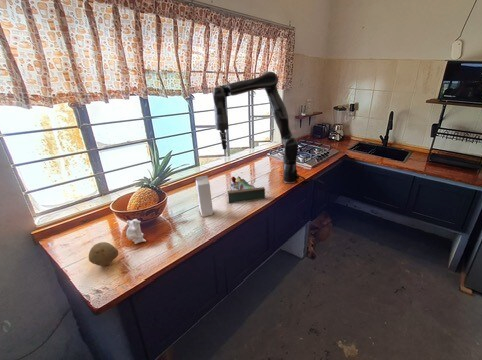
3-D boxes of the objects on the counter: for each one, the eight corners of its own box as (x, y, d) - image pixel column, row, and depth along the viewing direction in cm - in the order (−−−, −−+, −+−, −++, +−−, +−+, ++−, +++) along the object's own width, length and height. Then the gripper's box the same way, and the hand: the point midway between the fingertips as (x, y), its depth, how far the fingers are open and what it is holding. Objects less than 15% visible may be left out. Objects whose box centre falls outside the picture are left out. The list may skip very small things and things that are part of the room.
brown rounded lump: (86, 268, 96) (78, 248, 92) (109, 254, 104) (102, 234, 100) (102, 274, 93) (94, 253, 89) (124, 259, 101) (118, 239, 97)
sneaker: (253, 198, 153) (252, 184, 149) (228, 190, 163) (226, 177, 159) (260, 193, 159) (260, 179, 155) (235, 186, 169) (234, 173, 165)
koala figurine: (151, 239, 114) (145, 217, 109) (137, 247, 108) (131, 224, 103) (139, 234, 117) (133, 212, 112) (125, 242, 111) (118, 219, 107)
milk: (213, 214, 135) (209, 177, 126) (202, 217, 132) (196, 179, 123) (210, 209, 140) (206, 173, 131) (199, 212, 137) (194, 175, 128)
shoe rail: (264, 196, 155) (263, 187, 152) (265, 198, 153) (264, 188, 150) (228, 201, 149) (227, 191, 146) (229, 203, 147) (228, 193, 144)
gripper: (228, 123, 144) (231, 150, 150) (226, 119, 156) (229, 144, 163) (215, 123, 142) (218, 151, 148) (214, 120, 154) (217, 145, 161)
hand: (224, 147), depth 155 cm, fingers open, 8 cm apart
